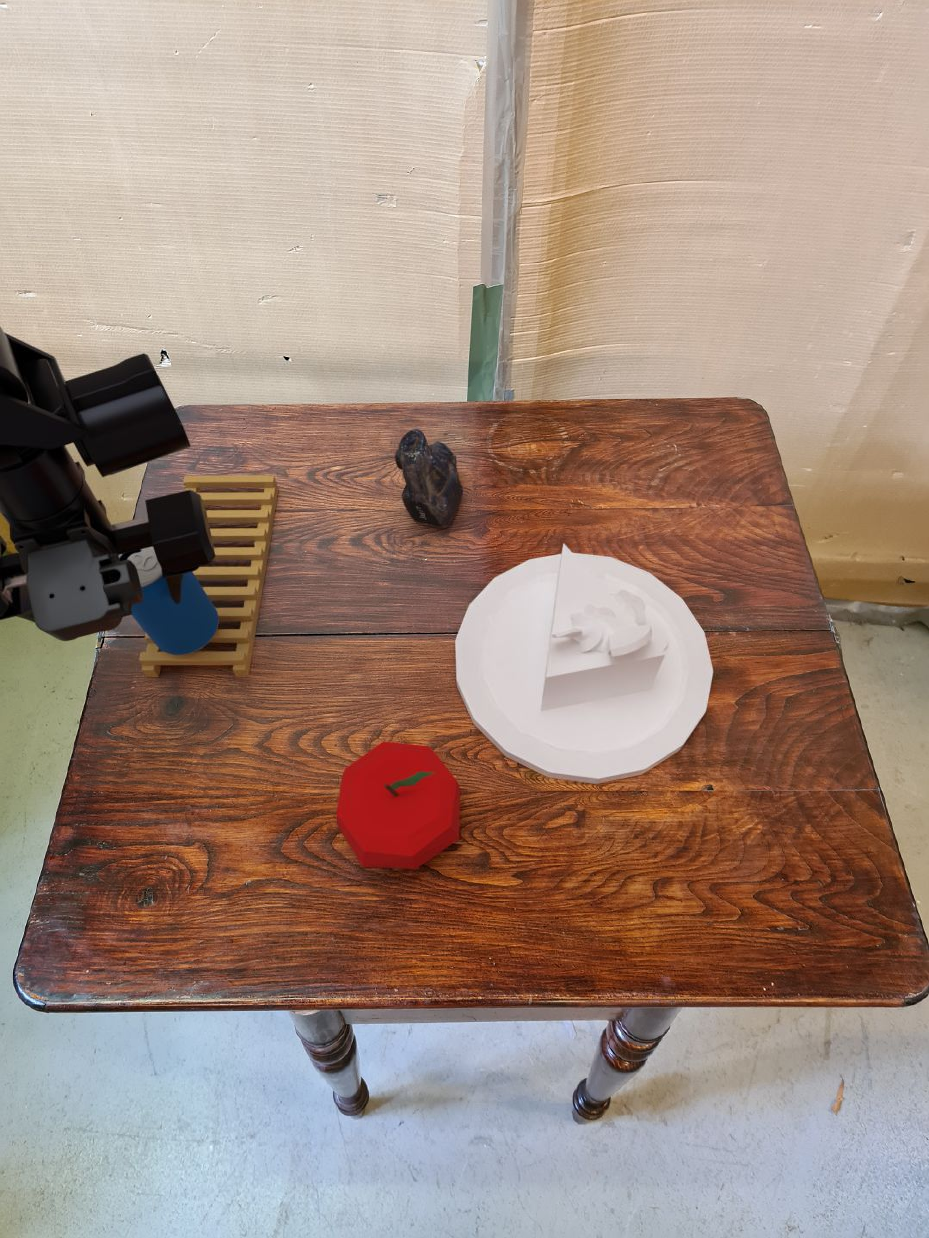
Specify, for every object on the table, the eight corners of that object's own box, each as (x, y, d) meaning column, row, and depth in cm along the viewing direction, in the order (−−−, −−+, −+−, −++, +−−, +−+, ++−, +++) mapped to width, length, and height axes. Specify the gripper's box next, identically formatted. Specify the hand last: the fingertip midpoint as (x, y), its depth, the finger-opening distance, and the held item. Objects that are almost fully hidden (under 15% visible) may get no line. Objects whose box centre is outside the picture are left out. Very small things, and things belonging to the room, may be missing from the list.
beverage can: (170, 596, 79) (118, 524, 69) (230, 606, 78) (187, 533, 68) (144, 653, 76) (86, 585, 66) (207, 663, 75) (158, 597, 65)
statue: (476, 477, 91) (476, 374, 78) (441, 557, 85) (435, 460, 72) (430, 466, 92) (423, 362, 79) (392, 544, 86) (378, 445, 73)
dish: (749, 752, 73) (791, 697, 64) (484, 806, 70) (486, 758, 61) (660, 543, 86) (684, 472, 76) (433, 583, 83) (428, 514, 74)
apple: (356, 900, 66) (339, 868, 58) (331, 783, 72) (313, 739, 63) (478, 864, 68) (479, 828, 59) (445, 752, 73) (441, 705, 65)
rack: (248, 677, 78) (242, 664, 75) (146, 677, 78) (137, 665, 76) (278, 490, 90) (274, 474, 88) (191, 490, 90) (184, 475, 88)
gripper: (-117, 621, 48) (8, 730, 61) (196, 544, 51) (250, 663, 64) (-108, 488, 53) (4, 614, 67) (173, 426, 57) (227, 558, 70)
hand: (122, 614), depth 67 cm, fingers open, 9 cm apart
